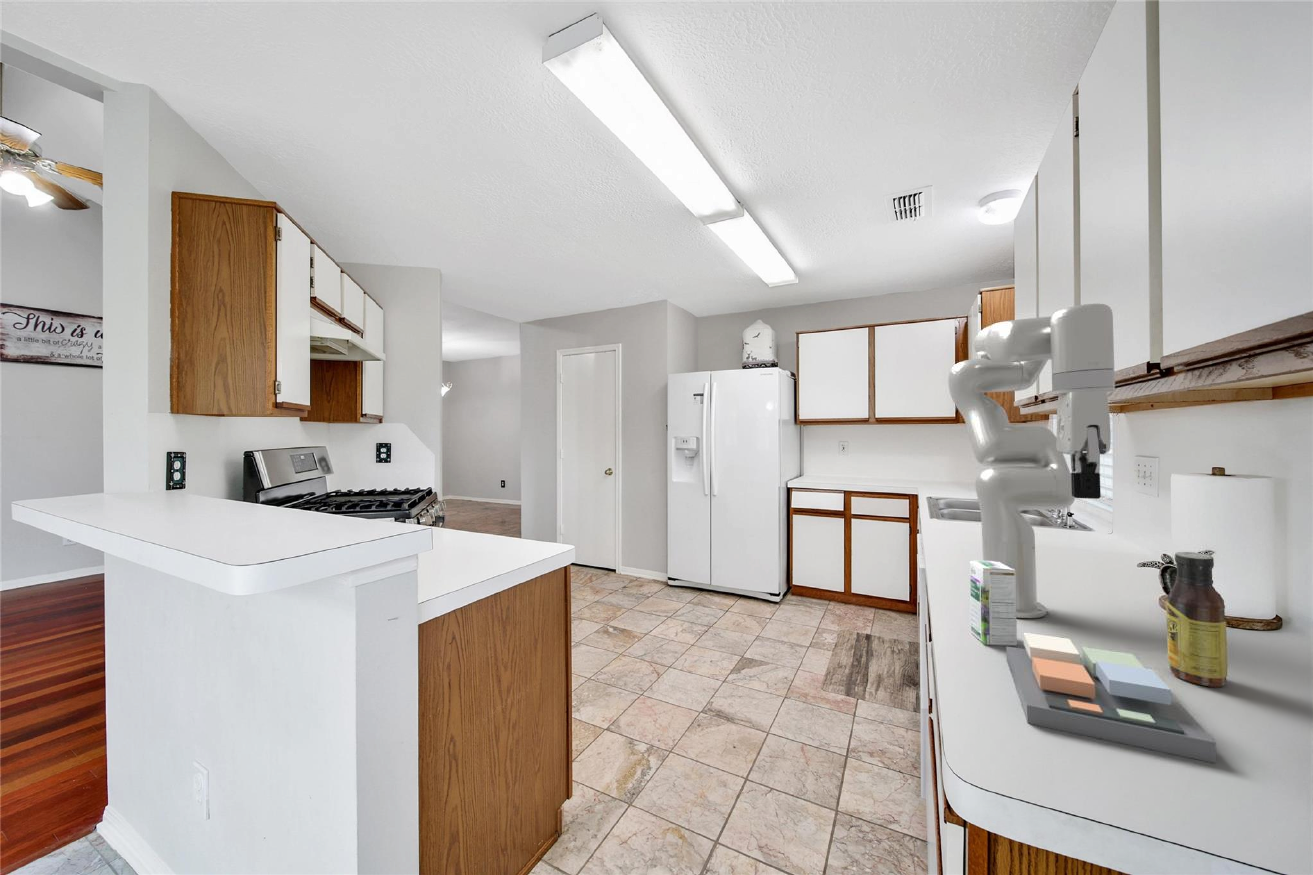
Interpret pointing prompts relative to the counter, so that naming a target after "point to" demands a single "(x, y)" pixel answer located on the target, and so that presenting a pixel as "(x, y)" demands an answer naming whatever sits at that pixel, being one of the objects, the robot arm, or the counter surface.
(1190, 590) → the sauce bottle
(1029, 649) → the cream key
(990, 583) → the syrup box
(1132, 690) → the blue key
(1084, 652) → the sage key
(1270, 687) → the counter surface
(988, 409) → the robot arm
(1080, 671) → the terracotta key
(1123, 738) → the keypad
